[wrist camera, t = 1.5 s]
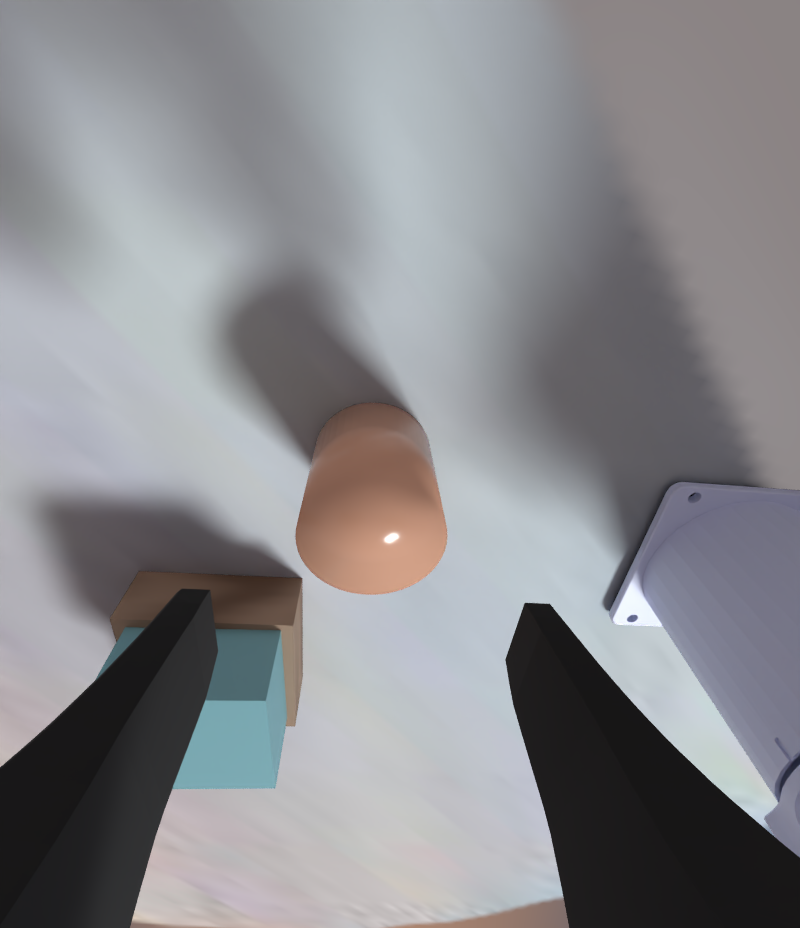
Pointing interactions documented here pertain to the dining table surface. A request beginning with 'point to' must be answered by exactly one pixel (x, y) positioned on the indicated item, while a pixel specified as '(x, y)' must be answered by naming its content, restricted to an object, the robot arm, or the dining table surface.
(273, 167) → the dining table surface
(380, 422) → the terracotta cylinder
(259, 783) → the teal top slab
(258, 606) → the walnut base slab
